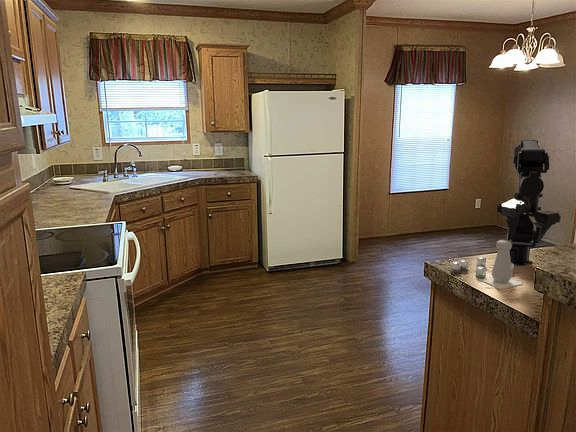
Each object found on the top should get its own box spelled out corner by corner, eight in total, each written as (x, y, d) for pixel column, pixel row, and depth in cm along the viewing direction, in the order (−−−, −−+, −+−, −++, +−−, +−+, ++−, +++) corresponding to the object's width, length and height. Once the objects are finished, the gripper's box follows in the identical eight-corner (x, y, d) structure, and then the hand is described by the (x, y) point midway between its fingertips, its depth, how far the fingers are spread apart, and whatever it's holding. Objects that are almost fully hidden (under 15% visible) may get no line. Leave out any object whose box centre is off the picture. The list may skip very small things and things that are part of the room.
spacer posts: (488, 263, 159) (489, 254, 158) (515, 273, 149) (516, 264, 148) (447, 270, 153) (448, 261, 152) (472, 281, 142) (473, 272, 142)
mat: (502, 276, 146) (502, 275, 146) (522, 284, 139) (523, 283, 139) (480, 280, 143) (480, 279, 143) (500, 289, 135) (500, 288, 135)
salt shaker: (506, 277, 143) (509, 238, 141) (515, 284, 138) (518, 243, 135) (487, 278, 143) (490, 238, 141) (495, 284, 138) (499, 243, 135)
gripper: (485, 187, 143) (481, 235, 147) (535, 197, 126) (530, 251, 130) (512, 184, 147) (508, 231, 151) (564, 194, 130) (558, 246, 134)
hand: (524, 239), depth 141 cm, fingers open, 9 cm apart
